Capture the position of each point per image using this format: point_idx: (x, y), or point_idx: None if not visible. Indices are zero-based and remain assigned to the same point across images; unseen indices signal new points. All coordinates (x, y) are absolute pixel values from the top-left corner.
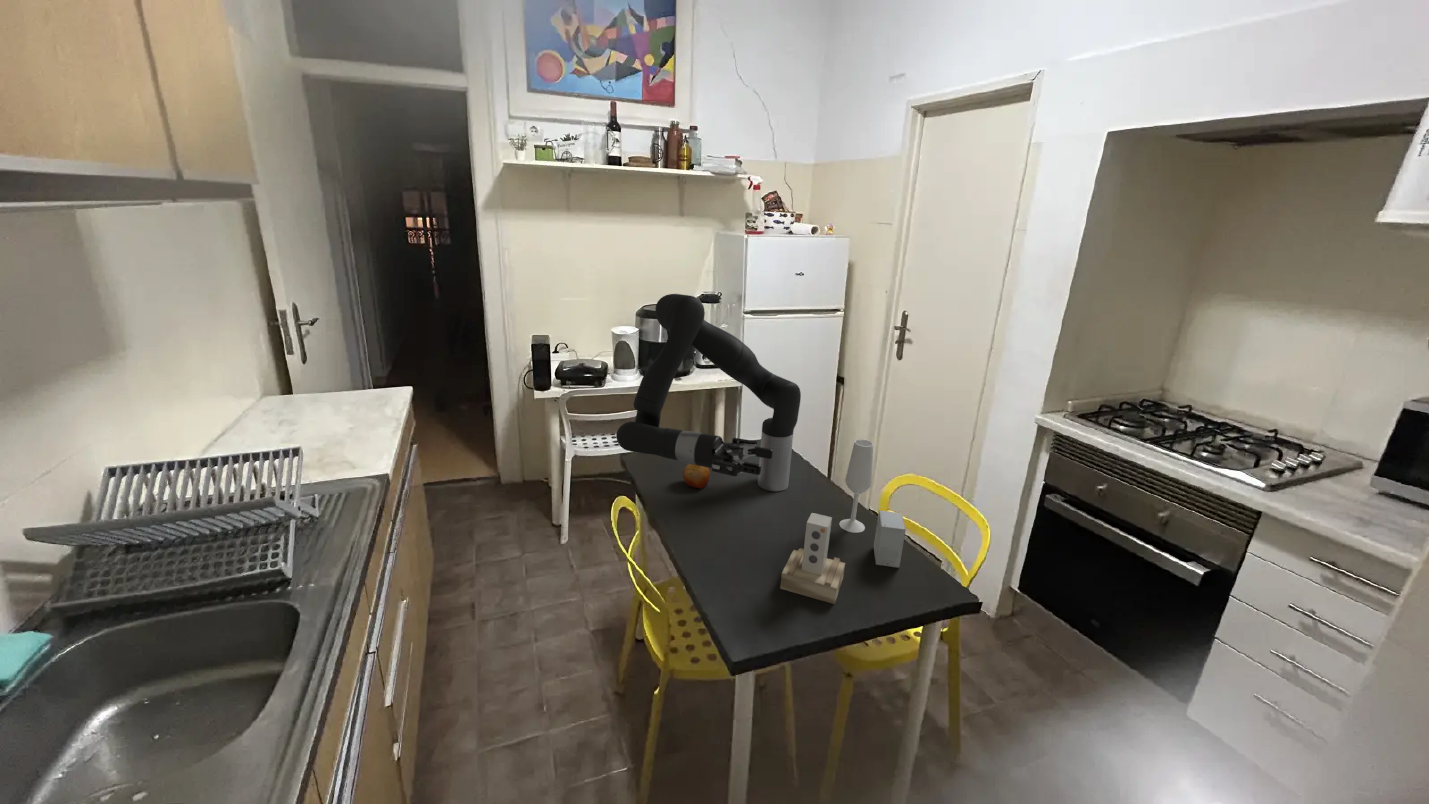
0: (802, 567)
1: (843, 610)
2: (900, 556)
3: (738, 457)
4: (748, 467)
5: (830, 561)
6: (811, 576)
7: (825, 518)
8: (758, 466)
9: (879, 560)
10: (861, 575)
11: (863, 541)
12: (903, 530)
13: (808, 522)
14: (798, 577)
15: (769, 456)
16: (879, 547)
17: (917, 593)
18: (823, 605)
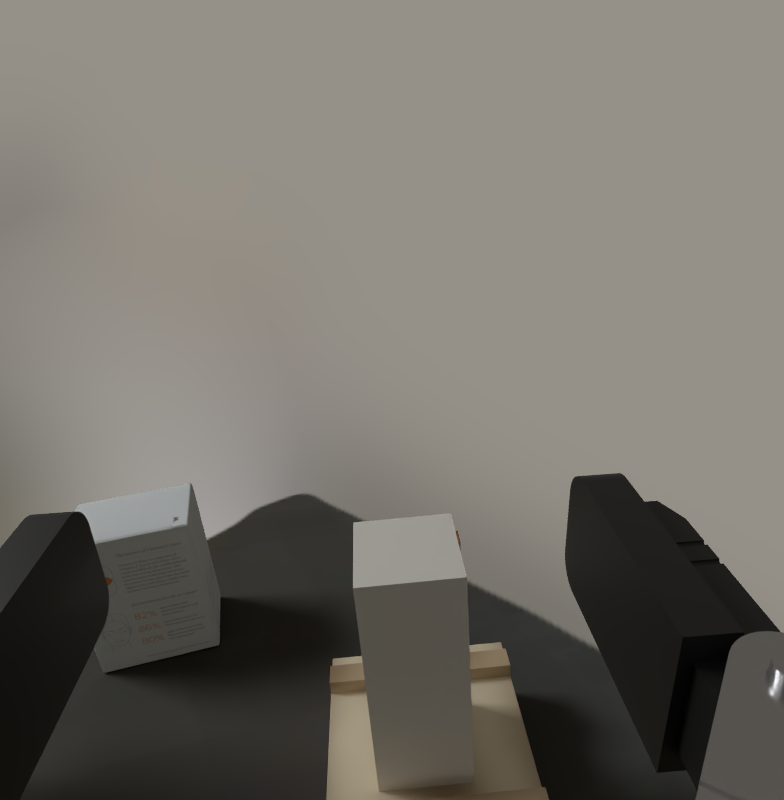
0: (472, 769)
1: (510, 663)
2: (212, 564)
3: (706, 781)
4: (732, 583)
5: (346, 702)
6: (491, 731)
7: (377, 535)
8: (622, 485)
9: (217, 623)
10: (297, 665)
11: (65, 709)
12: (192, 488)
13: (463, 571)
14: (536, 773)
15: (95, 599)
16: (207, 589)
17: (323, 550)
18: (531, 718)
